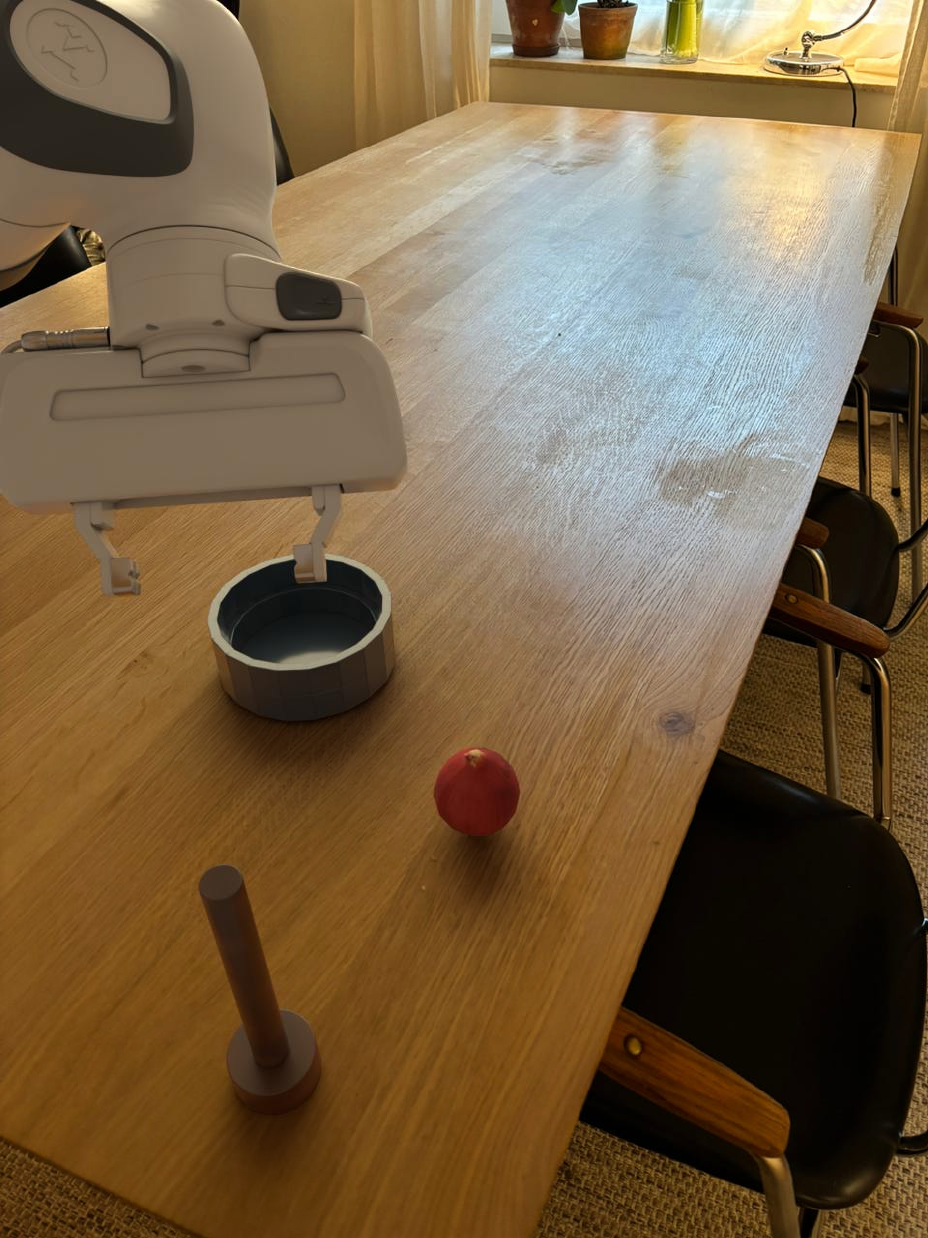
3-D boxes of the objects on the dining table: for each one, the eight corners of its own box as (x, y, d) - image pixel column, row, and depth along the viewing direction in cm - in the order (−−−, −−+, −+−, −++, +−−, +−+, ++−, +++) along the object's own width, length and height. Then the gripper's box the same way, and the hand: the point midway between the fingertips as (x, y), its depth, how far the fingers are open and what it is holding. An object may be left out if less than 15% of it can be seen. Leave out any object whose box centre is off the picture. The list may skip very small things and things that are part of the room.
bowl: (239, 747, 76) (225, 691, 72) (207, 630, 87) (194, 576, 83) (419, 697, 80) (415, 641, 76) (368, 591, 90) (362, 537, 86)
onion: (463, 782, 73) (461, 706, 68) (533, 813, 71) (536, 737, 65) (421, 838, 69) (415, 762, 64) (492, 873, 67) (492, 797, 62)
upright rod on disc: (242, 1129, 55) (172, 946, 43) (226, 1046, 58) (157, 856, 46) (330, 1095, 56) (286, 909, 44) (309, 1016, 59) (263, 824, 47)
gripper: (-36, 309, 47) (-22, 598, 46) (394, 284, 48) (417, 564, 47) (17, 355, 53) (30, 610, 52) (396, 332, 55) (416, 580, 54)
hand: (217, 588), depth 50 cm, fingers open, 8 cm apart
